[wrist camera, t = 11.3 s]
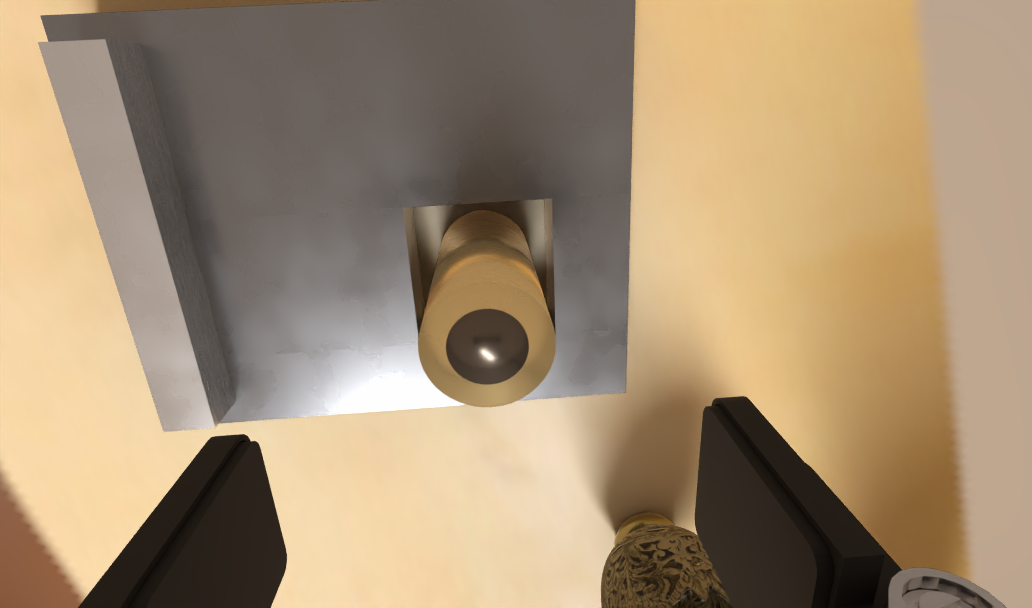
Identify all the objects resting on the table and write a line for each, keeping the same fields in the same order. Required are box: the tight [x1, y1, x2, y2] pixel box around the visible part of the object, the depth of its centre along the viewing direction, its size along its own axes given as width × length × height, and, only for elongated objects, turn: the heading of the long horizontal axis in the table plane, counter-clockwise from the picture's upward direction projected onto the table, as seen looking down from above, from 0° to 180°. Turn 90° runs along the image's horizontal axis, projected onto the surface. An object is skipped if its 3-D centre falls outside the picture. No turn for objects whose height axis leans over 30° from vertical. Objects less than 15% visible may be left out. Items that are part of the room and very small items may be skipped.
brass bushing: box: [418, 210, 556, 407], centre depth 21 cm, size 4×4×10 cm
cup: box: [601, 512, 733, 608], centre depth 28 cm, size 8×7×8 cm
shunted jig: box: [38, 0, 635, 432], centre depth 22 cm, size 16×20×5 cm
